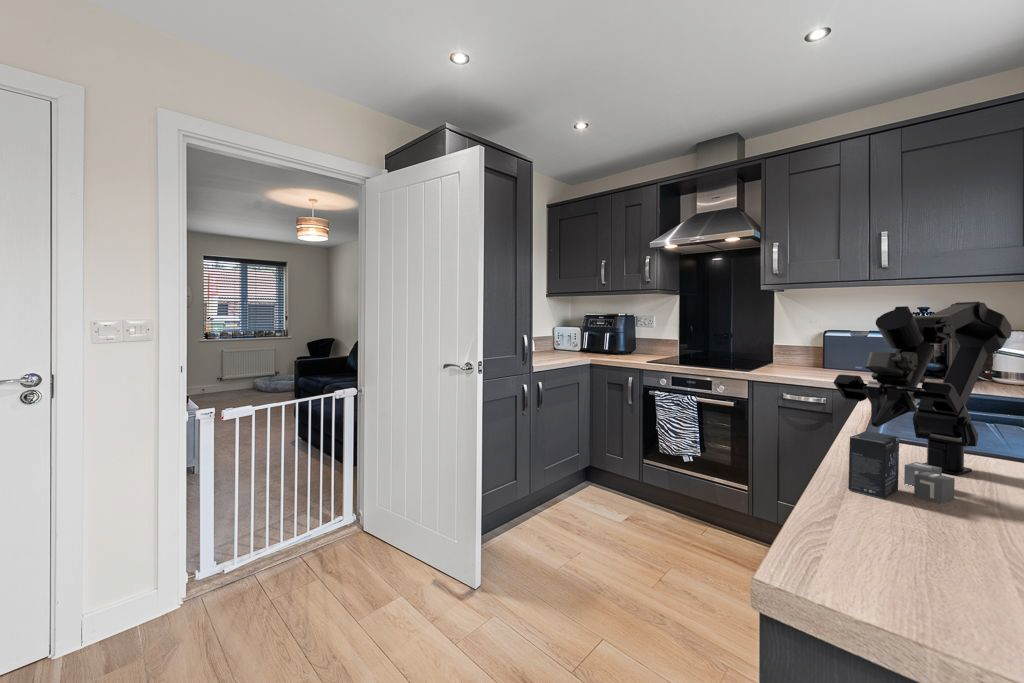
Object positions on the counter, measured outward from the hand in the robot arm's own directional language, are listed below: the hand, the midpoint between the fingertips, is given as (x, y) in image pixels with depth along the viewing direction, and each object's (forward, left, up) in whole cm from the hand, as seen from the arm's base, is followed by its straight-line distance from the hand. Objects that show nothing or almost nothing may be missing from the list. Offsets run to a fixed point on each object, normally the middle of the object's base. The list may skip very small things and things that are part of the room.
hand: (874, 425), depth 84 cm
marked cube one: (-11, +2, -13) cm, 17 cm away
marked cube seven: (-6, +6, -13) cm, 15 cm away
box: (0, 0, -13) cm, 13 cm away
